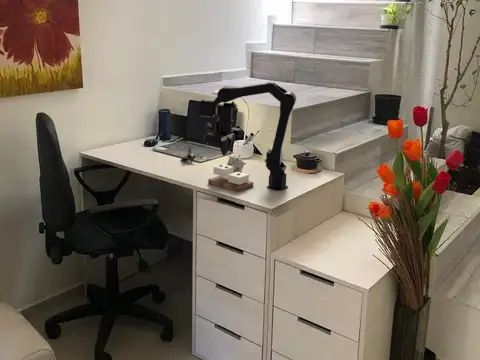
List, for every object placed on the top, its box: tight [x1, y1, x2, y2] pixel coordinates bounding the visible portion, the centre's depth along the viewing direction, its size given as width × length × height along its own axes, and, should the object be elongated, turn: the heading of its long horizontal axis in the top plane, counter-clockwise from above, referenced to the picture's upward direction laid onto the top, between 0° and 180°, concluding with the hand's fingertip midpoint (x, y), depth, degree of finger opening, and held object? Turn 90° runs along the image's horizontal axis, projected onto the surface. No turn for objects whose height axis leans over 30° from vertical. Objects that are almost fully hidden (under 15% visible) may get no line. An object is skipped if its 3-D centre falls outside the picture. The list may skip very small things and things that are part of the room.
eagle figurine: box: [181, 146, 200, 164], centre depth 273 cm, size 8×7×9 cm
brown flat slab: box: [207, 175, 254, 193], centre depth 239 cm, size 16×10×2 cm, turn 51°
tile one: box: [228, 172, 250, 185], centre depth 236 cm, size 6×6×3 cm
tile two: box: [213, 163, 234, 177], centre depth 240 cm, size 6×6×3 cm
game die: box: [226, 154, 247, 173], centre depth 256 cm, size 9×8×10 cm
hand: (224, 155), depth 238 cm, fingers closed
